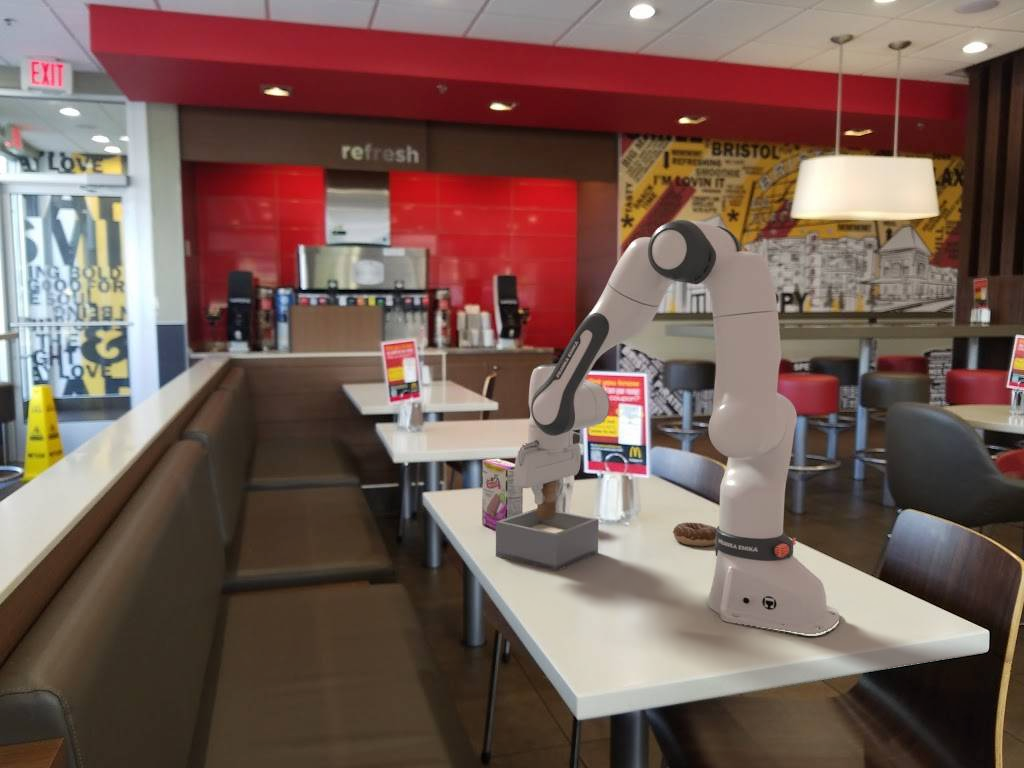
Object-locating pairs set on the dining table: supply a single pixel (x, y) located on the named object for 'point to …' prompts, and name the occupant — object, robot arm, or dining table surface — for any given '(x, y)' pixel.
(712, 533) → the donut
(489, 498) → the candy bar box
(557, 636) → the dining table surface
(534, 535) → the open-top box
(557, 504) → the beer glass
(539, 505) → the peg
